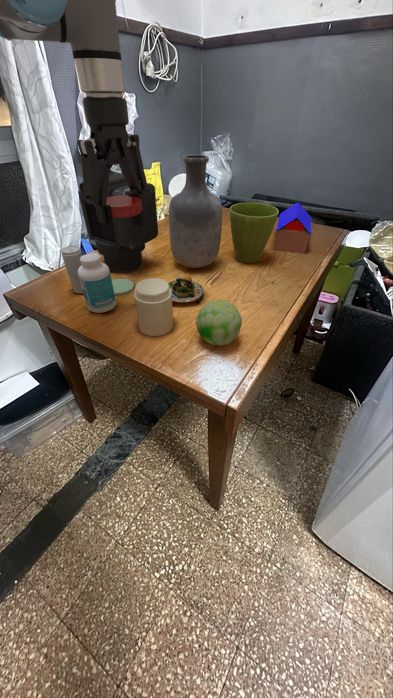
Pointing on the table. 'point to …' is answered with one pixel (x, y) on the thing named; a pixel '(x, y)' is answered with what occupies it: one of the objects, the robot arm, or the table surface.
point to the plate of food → (185, 289)
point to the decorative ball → (218, 322)
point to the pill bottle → (96, 284)
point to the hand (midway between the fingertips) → (124, 231)
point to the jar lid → (124, 206)
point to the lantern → (122, 227)
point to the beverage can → (73, 266)
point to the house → (293, 229)
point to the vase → (195, 217)
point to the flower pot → (251, 229)
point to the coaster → (122, 286)
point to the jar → (154, 306)
